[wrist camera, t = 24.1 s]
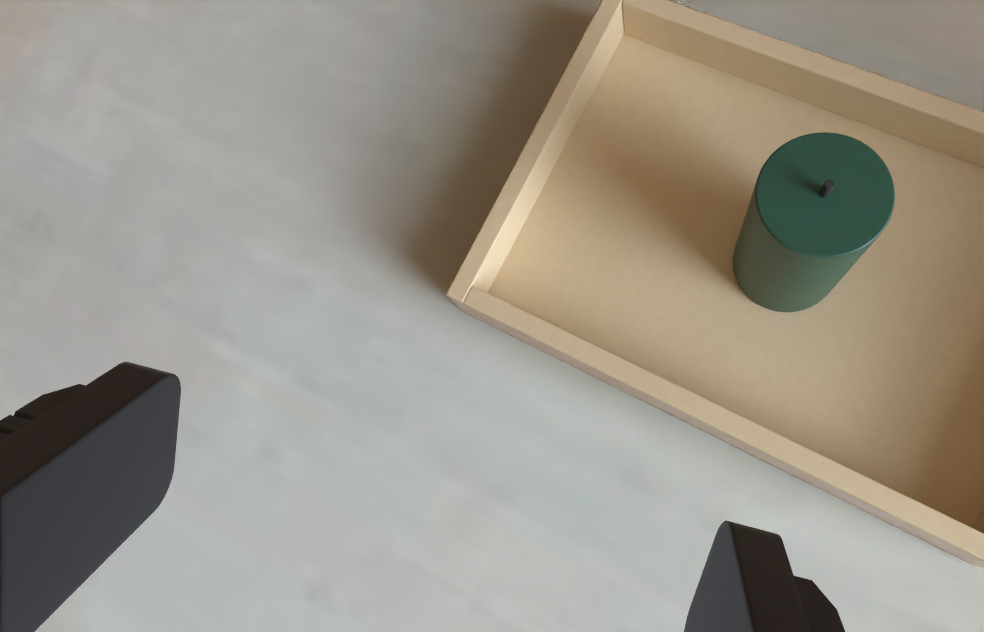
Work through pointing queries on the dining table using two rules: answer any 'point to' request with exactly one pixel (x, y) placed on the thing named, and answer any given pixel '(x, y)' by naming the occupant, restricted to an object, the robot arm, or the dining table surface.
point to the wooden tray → (709, 261)
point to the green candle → (811, 219)
